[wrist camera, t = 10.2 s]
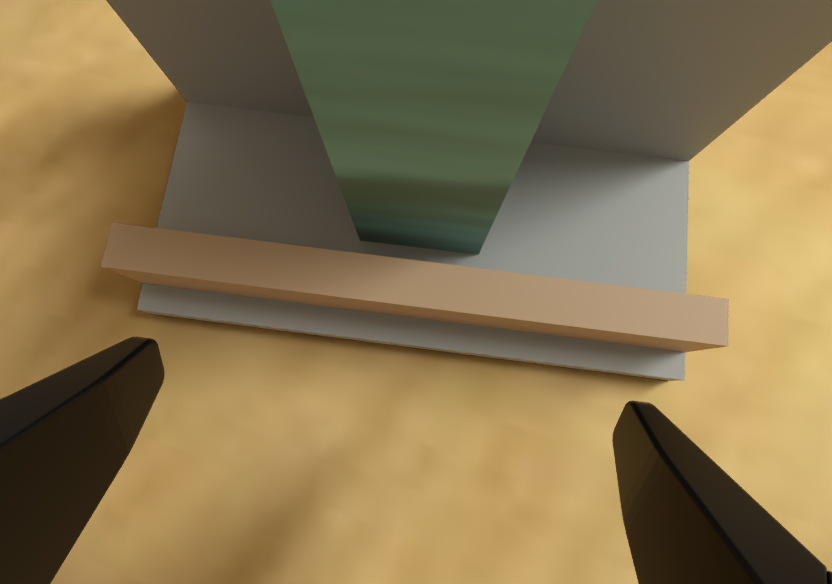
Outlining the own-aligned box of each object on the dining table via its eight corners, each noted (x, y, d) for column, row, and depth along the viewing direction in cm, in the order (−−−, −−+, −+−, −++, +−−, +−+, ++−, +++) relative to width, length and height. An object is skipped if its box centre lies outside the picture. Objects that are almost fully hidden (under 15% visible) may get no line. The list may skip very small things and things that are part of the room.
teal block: (478, 254, 18) (604, -17, 6) (359, 240, 19) (250, -52, 6) (489, 144, 19) (618, -284, 7) (376, 132, 19) (308, -312, 7)
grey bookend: (670, 380, 18) (957, 370, 9) (150, 313, 19) (-134, 232, 9) (677, 117, 21) (913, -130, 11) (210, 63, 21) (32, -221, 11)
